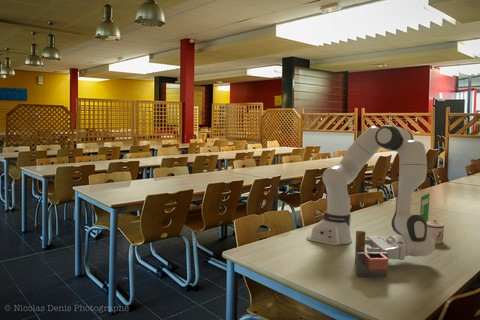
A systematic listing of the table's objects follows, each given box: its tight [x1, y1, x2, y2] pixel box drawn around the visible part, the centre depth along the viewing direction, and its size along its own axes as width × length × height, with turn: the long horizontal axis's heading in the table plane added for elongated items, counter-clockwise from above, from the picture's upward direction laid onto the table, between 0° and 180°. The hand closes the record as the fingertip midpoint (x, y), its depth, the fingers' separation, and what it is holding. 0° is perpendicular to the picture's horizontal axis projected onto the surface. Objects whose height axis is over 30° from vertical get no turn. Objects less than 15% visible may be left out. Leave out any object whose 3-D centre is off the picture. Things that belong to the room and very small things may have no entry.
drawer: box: [355, 251, 389, 278], centre depth 151 cm, size 12×8×10 cm, turn 92°
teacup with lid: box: [427, 218, 445, 245], centre depth 201 cm, size 12×9×12 cm
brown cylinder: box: [354, 230, 366, 265], centre depth 168 cm, size 4×4×14 cm
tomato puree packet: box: [419, 193, 430, 222], centre depth 221 cm, size 15×1×20 cm, turn 139°
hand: (363, 246), depth 168 cm, fingers open, 8 cm apart
